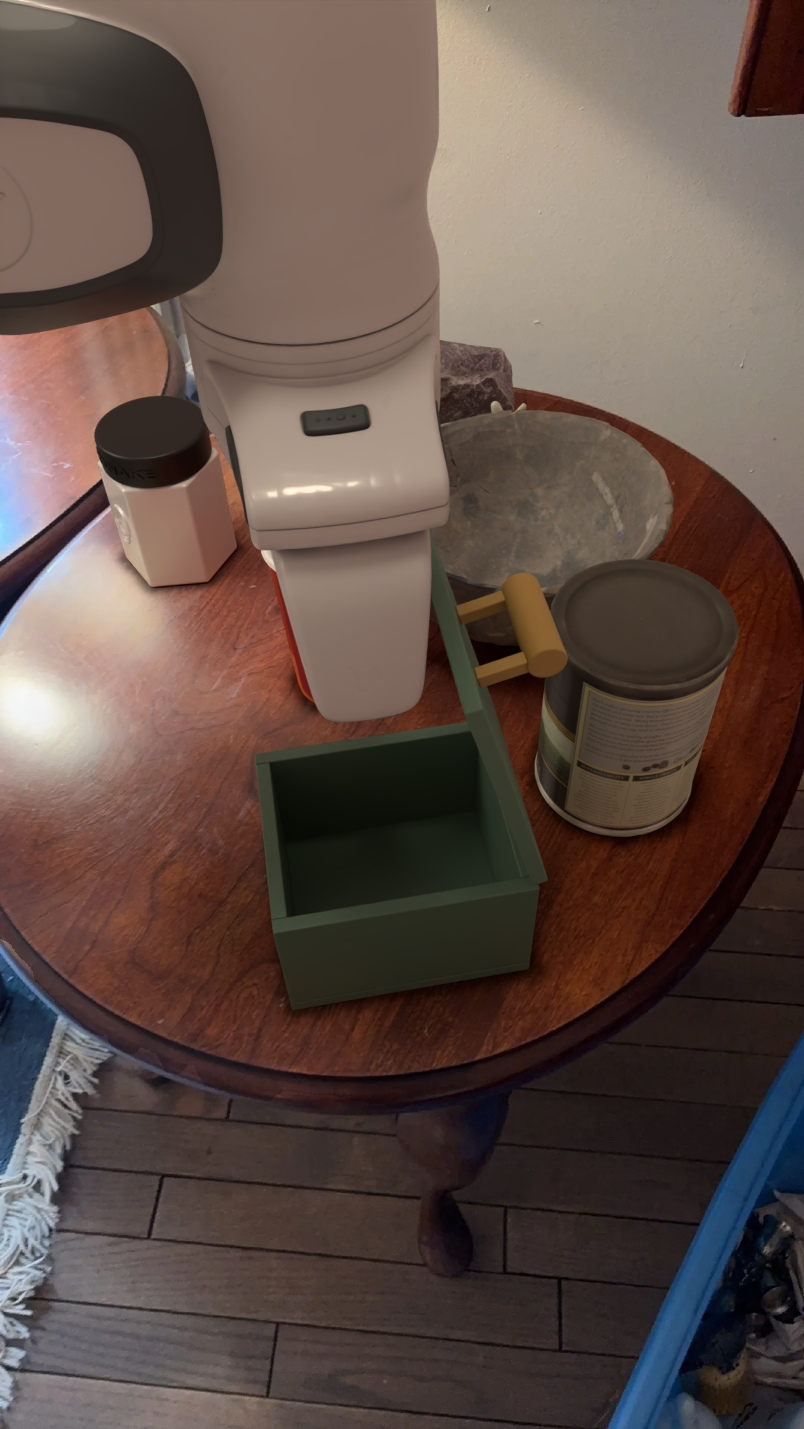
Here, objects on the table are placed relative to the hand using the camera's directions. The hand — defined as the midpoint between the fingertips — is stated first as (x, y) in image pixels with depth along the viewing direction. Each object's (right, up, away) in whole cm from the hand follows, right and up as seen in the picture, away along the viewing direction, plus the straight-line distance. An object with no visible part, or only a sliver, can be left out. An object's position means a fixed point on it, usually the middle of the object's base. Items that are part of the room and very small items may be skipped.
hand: (344, 631), depth 47 cm
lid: (+6, -4, +3) cm, 8 cm away
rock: (+6, +22, +48) cm, 54 cm away
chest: (+2, -15, +15) cm, 21 cm away
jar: (-15, +9, +36) cm, 40 cm away
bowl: (+11, +5, +32) cm, 34 cm away
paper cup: (-2, -1, +27) cm, 27 cm away
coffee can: (+16, -8, +21) cm, 27 cm away
